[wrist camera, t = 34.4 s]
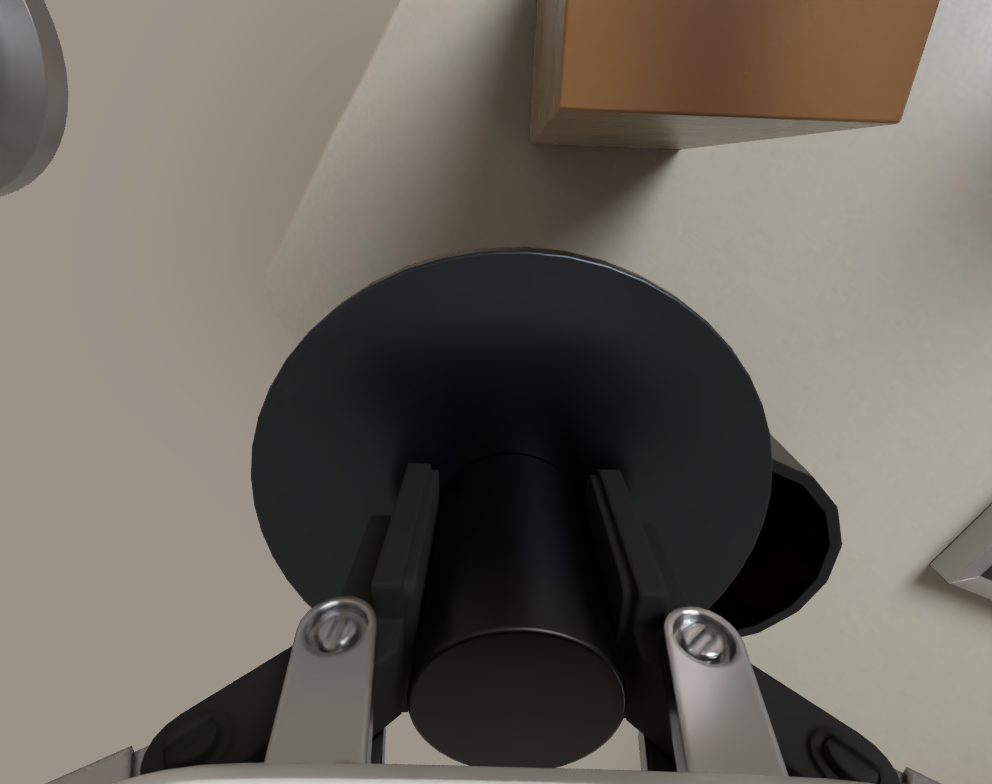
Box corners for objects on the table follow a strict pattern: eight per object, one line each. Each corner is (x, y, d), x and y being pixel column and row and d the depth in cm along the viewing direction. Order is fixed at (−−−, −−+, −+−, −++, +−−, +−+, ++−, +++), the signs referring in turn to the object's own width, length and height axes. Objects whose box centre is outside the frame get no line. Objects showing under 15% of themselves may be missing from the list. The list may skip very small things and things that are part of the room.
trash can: (563, 503, 40) (587, 637, 28) (579, 359, 35) (615, 452, 23) (716, 509, 40) (801, 646, 28) (754, 366, 35) (875, 462, 23)
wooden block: (529, 143, 30) (558, 109, 13) (540, -51, 26) (599, -434, 9) (681, 149, 30) (901, 123, 13) (713, -44, 26) (1076, -416, 9)
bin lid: (301, 644, 16) (197, 897, 11) (229, 231, 11) (-55, 297, 5) (696, 657, 16) (800, 912, 11) (814, 253, 11) (1137, 343, 6)
